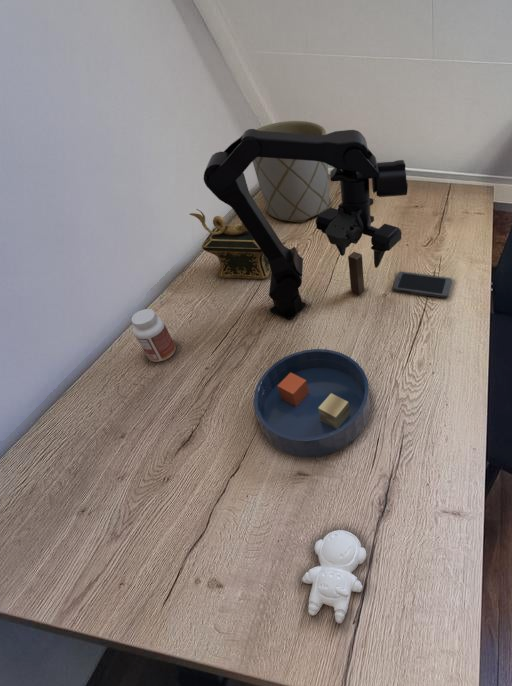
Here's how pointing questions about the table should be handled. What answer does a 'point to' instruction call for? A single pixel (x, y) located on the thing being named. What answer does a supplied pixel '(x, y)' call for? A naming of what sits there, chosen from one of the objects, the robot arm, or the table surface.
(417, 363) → the table surface
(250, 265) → the decorative box
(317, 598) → the astronaut figurine
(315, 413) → the bowl
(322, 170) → the planter
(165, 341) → the pill bottle
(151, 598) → the table surface
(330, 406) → the maple block
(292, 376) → the terracotta block
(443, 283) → the cell phone
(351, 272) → the dark brown wooden bar
